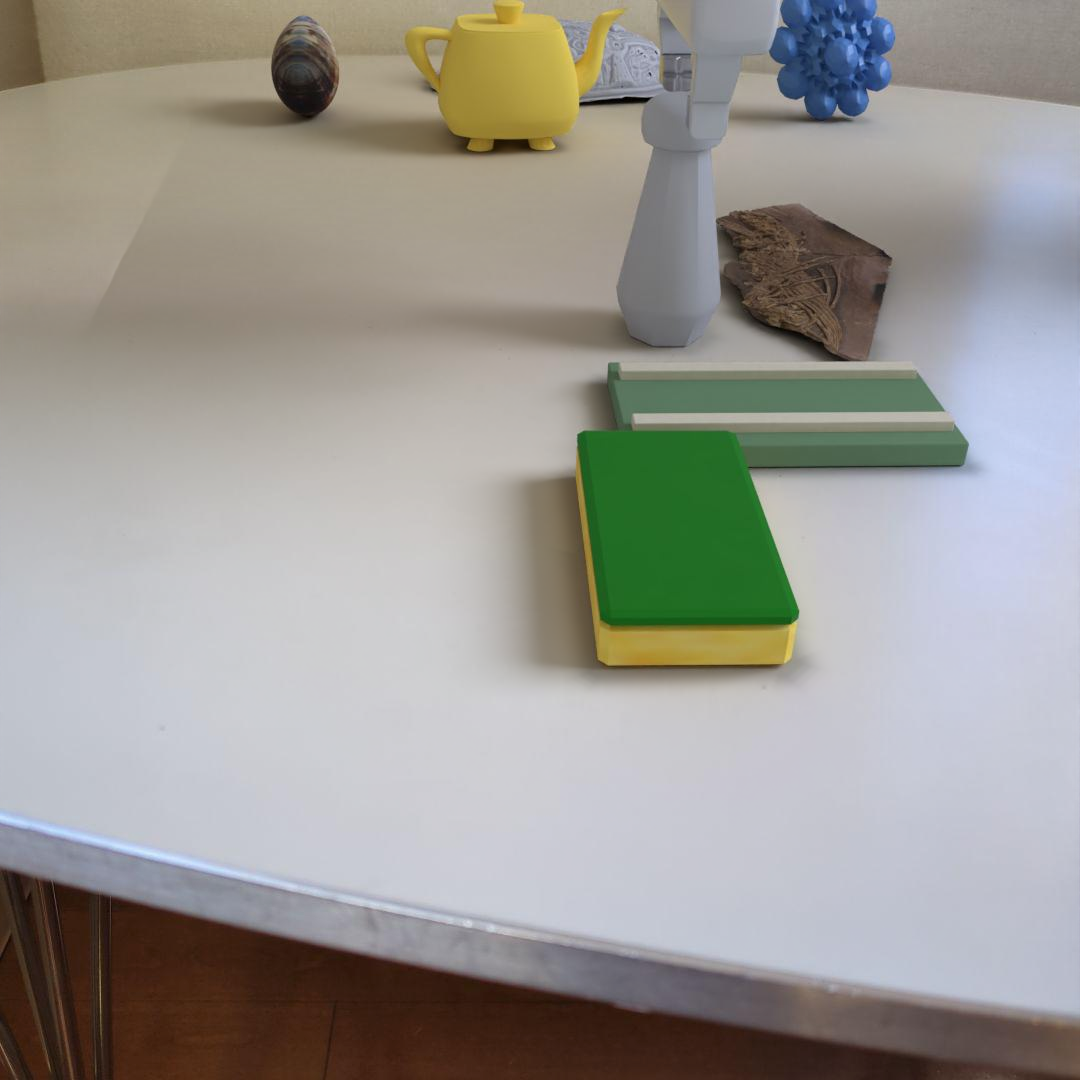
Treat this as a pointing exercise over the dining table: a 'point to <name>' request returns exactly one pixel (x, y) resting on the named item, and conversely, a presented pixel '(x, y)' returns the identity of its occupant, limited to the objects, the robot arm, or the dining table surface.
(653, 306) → the salt shaker
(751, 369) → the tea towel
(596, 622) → the dish sponge
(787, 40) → the blue knobbly round piece
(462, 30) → the teapot
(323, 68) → the seashell
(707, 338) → the dining table surface
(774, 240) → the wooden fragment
